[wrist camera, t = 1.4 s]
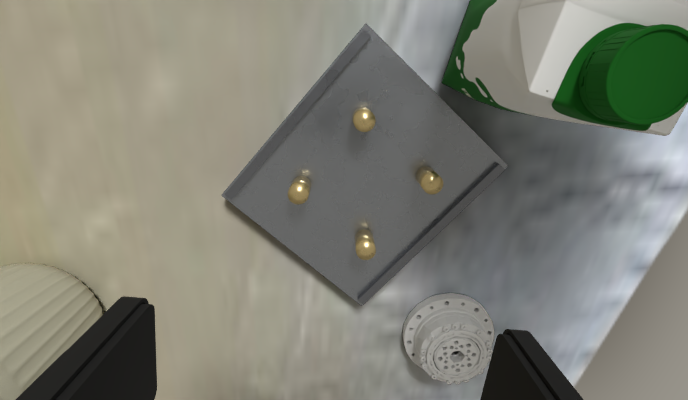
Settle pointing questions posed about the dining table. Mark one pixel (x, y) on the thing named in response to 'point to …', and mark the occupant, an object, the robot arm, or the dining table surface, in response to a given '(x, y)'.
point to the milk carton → (577, 60)
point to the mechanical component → (449, 337)
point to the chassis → (364, 170)
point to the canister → (39, 321)
